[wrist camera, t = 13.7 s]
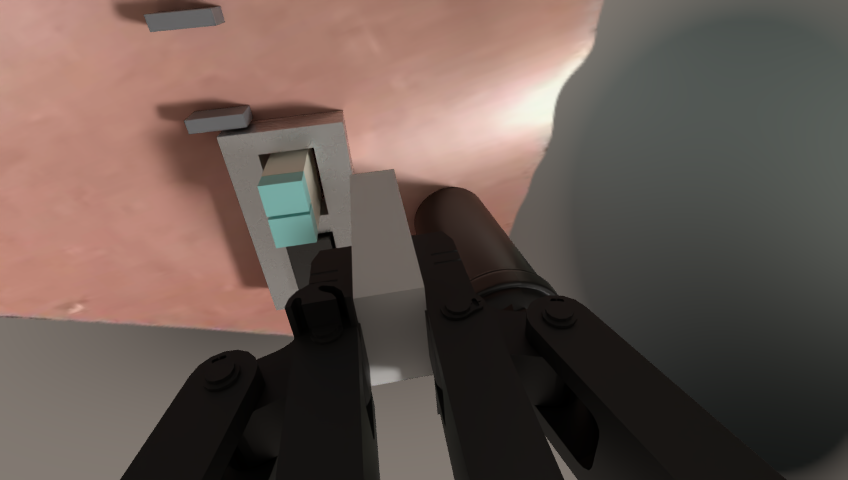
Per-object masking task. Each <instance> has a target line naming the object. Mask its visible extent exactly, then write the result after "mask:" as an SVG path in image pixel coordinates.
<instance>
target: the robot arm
mask: <svg viewBox="0 0 848 480" xmlns="http://www.w3.org/2000/svg"><path fill="white" fill-rule="evenodd" d="M350 208H351V243H352V246H348V247H341V248H334V249H328V250H321V251H319V253H318V254H317V255H316V257H315V258H314V259H313V261H312V262H311V270H310V278H309V285H307V286H305V287H303V288H302V289H300V290H298V291H296V292H295V293H294V294H293V295H292V296H291V297H290V298H289V299H288V301H287V303H286V305H285V310H286V314H287V317H288V320H289V323H290V326H291V329H292V332H293V335H294V340H293V341H292V342H291V343H290V344H289V345H287V346H285V347H284V348H282V349H280V350H278V351H276V352H274V353H271V354H269V355H267V356H264V357H262V358H260V359H257V360H256V358H255V357H254V356H253V355H252V354H250V353H249V352H247V351H241V350H233V351H226V352H222V353H220V354H218V355H215V356H213V357H211V358H209V359H208V360H206V361H205V362H203V363H202V364H200V365H199V366H198V367H197V368H196V369H195V371H194V372H193V373H192V374H191V375H190V376H189V378H188V379H187V381H186V382H185V384H184V385H183V387H182V388H181V390H180V391H179V393H178V394H177V396H176V397H175V399H174V400H173V402H172V403H171V405H170V406H169V408H168V409H167V411H166V412H165V414H164V415H163V417H162V418H161V420H160V421H159V423H158V424H157V426H156V427H155V428H154V430H153V432H152V433H151V434H150V436H149V437H148V439H147V440H146V442H145V444H144V445H143V446H142V448H141V450H140V451H139V452H138V454H137V455H136V457H135V458H134V460H133V461H132V463H131V464H130V466H129V467H128V469H127V470H126V472H125V473H124V475H123V476H122V478H121V479H120V480H380V473H379V460H378V446H377V433H376V419H375V408H374V407H375V406H374V401H373V397H372V392H371V384H372V386H374V385H379V384H384V383H390V382H396V381H401V380H407V379H412V378H418V377H423V376H429V375H433V374H434V378H435V379H434V380H435V390H436V401H437V411H438V414H440V415H441V420H442V424H443V428H444V433H445V438H446V442H447V447H448V452H449V456H450V461H451V465H452V470H453V475H454V479H455V480H564V478H563V476H562V474H561V471H560V469H559V467H558V464H557V462H556V460H555V458H554V455H553V453H552V451H551V448H550V446H549V444H548V442H547V439H548V440H549V441H550V443H551V444H552V445H553V447H554V448H555V449H556V451H557V452H558V453H559V455H560V456H561V458H562V459H563V460H564V462H565V463H566V464H567V466H568V467H569V469H570V470H571V471H572V473H573V474H574V475H575V477H576V478H577V479H578V480H786V479H785V478H784V477H783V476H781V475H780V474H779V473H778V472H777V471H776V470H774V469H773V468H772V467H771V466H770V465H769V464H768V463H766V462H765V461H764V460H763V459H762V458H761V457H759V456H758V455H757V454H756V453H755V452H754V451H752V450H751V449H750V448H749V447H748V446H746V444H744V443H743V442H742V441H741V440H740V439H739V438H737V437H736V436H735V435H734V434H733V433H732V432H730V431H729V430H728V429H727V428H726V427H724V426H723V425H722V424H721V423H720V422H719V421H718V420H716V419H715V418H714V417H713V416H712V415H710V413H708V412H707V411H706V410H705V409H704V408H702V407H701V406H700V405H699V404H698V403H697V402H695V401H694V400H693V399H692V398H691V397H690V396H689V395H687V394H686V393H685V392H684V391H683V390H682V389H681V388H679V387H678V386H677V385H676V384H675V383H673V382H672V381H671V380H670V379H669V378H668V377H667V376H665V375H664V374H663V373H662V372H661V371H660V370H658V369H657V368H656V367H655V366H654V365H653V364H652V363H650V362H649V361H648V360H647V359H646V358H645V357H643V356H642V355H641V354H640V353H639V352H638V351H636V350H635V349H634V348H633V347H632V346H631V345H629V344H628V343H627V342H626V341H625V340H624V339H623V338H621V337H620V336H619V335H618V334H617V333H616V332H614V331H613V330H612V329H611V328H610V327H609V326H607V325H606V324H605V323H604V322H603V321H602V320H600V319H599V318H598V317H597V316H596V315H595V314H594V313H592V312H591V311H590V310H589V309H588V308H587V307H585V306H584V305H583V304H581V303H579V302H578V301H576V300H574V299H571V298H568V297H565V296H556V295H549V296H544V297H539V298H538V299H536V300H534V301H533V302H531V303H530V305H529V306H528V308H527V312H519V311H507V310H500V309H497V308H494V307H491V306H489V305H488V304H487V303H486V302H485V300H484V299H483V298H482V297H481V296H479V295H477V294H476V293H475V291H474V289H473V286H472V284H471V281H470V279H469V277H468V274H467V272H466V269H465V267H464V265H463V262H462V261H461V257H460V255H459V253H458V251H457V248H456V245H455V243H454V241H453V239H452V238H451V237H449V236H448V235H447V234H445V233H444V232H443V231H439V232H433V233H426V234H419V235H413V236H411V234H410V230H409V226H408V222H407V218H406V214H405V211H404V207H403V203H402V199H401V195H400V191H399V188H398V184H397V180H396V176H395V172H394V169H391V170H383V171H376V172H368V173H361V174H354V175H350ZM544 434H545V435H544ZM545 436H546V437H547V439H546V437H545Z"/></svg>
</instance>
